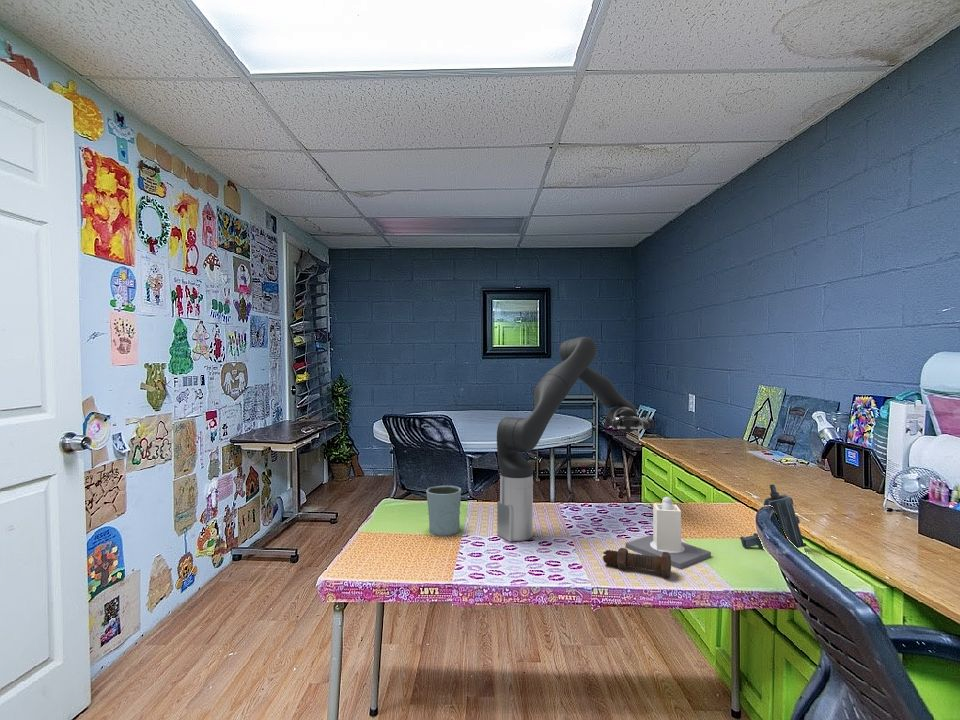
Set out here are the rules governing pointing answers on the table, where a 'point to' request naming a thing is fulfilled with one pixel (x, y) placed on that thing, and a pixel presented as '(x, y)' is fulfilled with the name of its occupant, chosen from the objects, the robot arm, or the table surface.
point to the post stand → (678, 558)
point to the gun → (780, 520)
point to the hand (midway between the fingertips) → (631, 425)
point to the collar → (667, 528)
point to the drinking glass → (444, 509)
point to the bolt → (639, 561)
